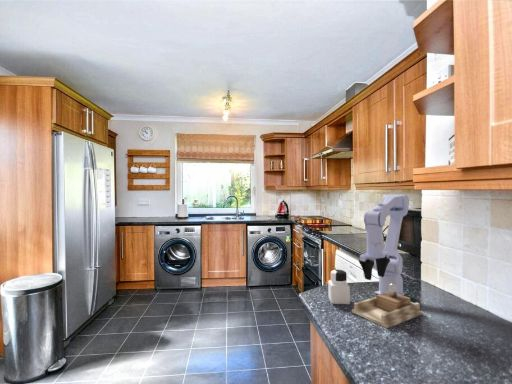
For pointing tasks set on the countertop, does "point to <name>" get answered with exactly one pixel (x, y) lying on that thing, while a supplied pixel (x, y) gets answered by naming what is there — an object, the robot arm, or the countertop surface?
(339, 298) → the medicine bottle
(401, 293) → the robot arm
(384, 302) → the block with knob
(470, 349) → the countertop surface
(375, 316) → the bay
